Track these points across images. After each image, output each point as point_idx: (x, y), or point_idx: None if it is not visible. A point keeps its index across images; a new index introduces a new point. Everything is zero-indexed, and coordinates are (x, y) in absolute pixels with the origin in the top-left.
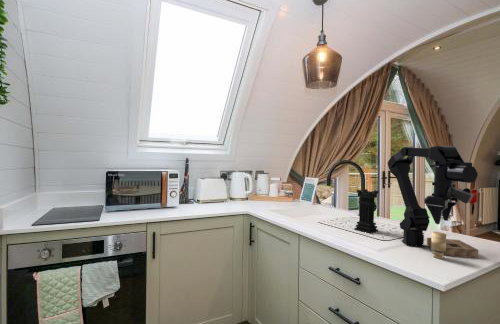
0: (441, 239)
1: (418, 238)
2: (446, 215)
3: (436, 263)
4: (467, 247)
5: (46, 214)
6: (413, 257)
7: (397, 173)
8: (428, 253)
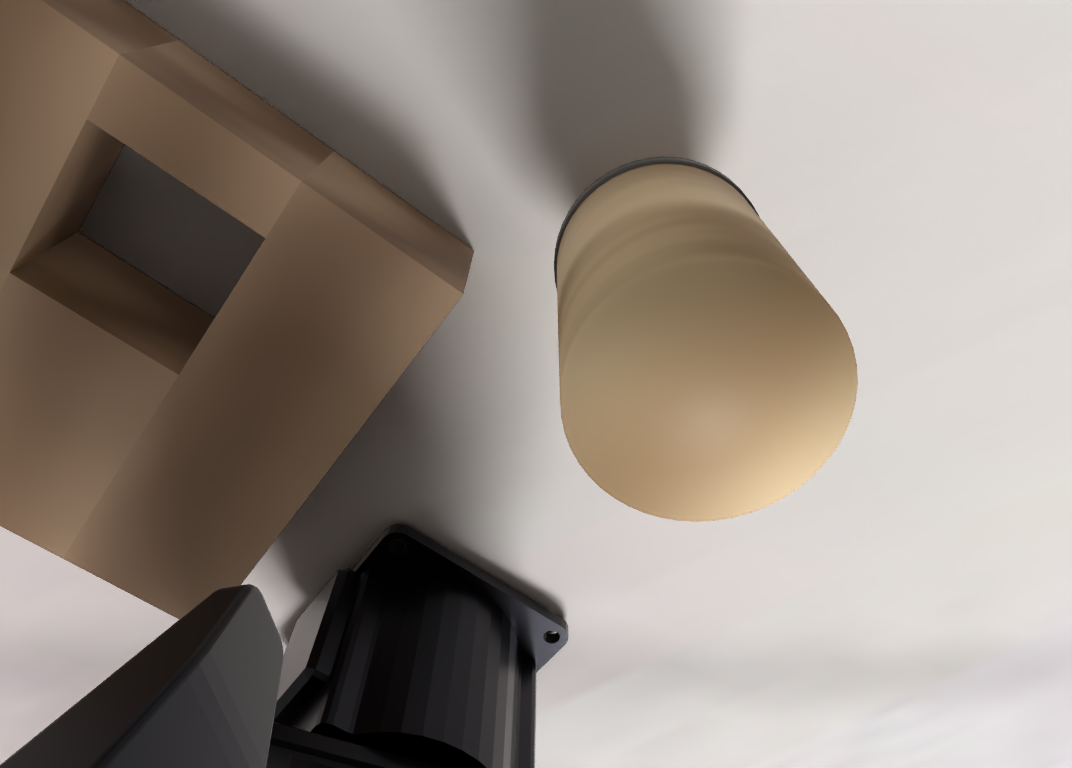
0: (791, 260)
1: (430, 648)
2: (200, 750)
3: (938, 106)
4: (5, 91)
5: None
6: (957, 376)
7: None
8: None
